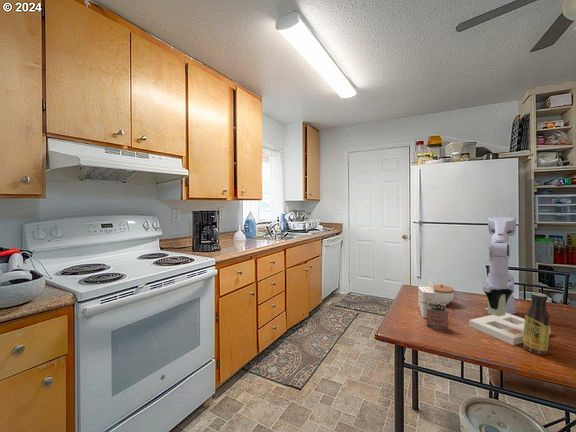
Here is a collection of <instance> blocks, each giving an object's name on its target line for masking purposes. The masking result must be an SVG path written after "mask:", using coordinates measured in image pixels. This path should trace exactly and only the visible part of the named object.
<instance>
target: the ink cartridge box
mask: <svg viewBox="0 0 576 432" xmlns="http://www.w3.org/2000/svg"><path fill="white" fill-rule="evenodd" d="M434 285H435V284H433V283H432V282H431V281H430V280H428V286H418V287H417V288H418V289H417V290H418V291H417V292H418V293H417V294H418V297H417V298H418V301H417V304H418V305H417V311H418V312H419V314H420V315H421V316H422V318H423V319H427V310H426V308H427V307H432V306H428V303H435V291H434ZM431 286H432V287H431ZM435 304H436V303H435ZM434 308H435V307H434Z"/></svg>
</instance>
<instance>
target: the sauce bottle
mask: <svg viewBox="0 0 576 432" xmlns="http://www.w3.org/2000/svg"><path fill="white" fill-rule="evenodd" d="M530 297H531V302H530V306H529V307H528V309H527V311H526V313H525V315H524V319H525V323H524V336H523V343H522V344H523V345H522V346H523V348H524V349H525V350H527V351H528V352H530V353H532V354H536V355H541V356H542V355H546V354H547V353H548V350H549V339H550V335H549V330H550V328H551V327H550V326H551V324H550V323H551V316H550V314H549V312H548V310H547V301H548V295H547V294H544V293H541V292H535V291H533V292H531V294H530Z"/></svg>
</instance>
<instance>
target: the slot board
mask: <svg viewBox="0 0 576 432" xmlns="http://www.w3.org/2000/svg"><path fill="white" fill-rule="evenodd" d="M524 323H525V318H523V317H520V316H517V315H514V314H509V313H506V312H505V315H503V316H499V317H498V316H495V315H493V314H490V315H489V314H488V315H485V316H481V317H477V318H472V319H469V320H468V326H469V327H471V328H472V329H475V330H478V331H479V332H482V333H484V334H486V335H489V336H491V337H493V338H495V339H498V340H501V341H502V342H505V343H507V344H510V345H512V346H516V345H520V344H523V336H524ZM551 330H552V329H551V327H550V330H549V336H550V335H551Z"/></svg>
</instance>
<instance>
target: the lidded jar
mask: <svg viewBox="0 0 576 432" xmlns="http://www.w3.org/2000/svg"><path fill="white" fill-rule="evenodd" d="M433 285H434V291H435V304H436V303H440V304H445V306H447V304H448V305H449V304H450V303H451V302H452V301H453V300H454V293H455V289H454V288H453V287H451V286H449V285H445V284H433ZM431 287H432V286H431Z"/></svg>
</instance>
